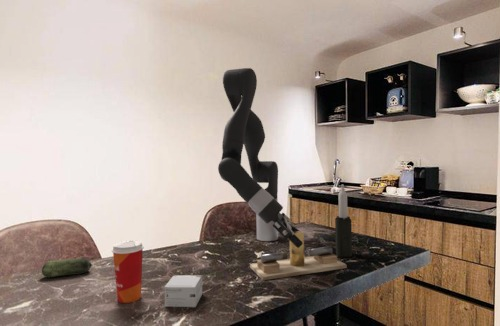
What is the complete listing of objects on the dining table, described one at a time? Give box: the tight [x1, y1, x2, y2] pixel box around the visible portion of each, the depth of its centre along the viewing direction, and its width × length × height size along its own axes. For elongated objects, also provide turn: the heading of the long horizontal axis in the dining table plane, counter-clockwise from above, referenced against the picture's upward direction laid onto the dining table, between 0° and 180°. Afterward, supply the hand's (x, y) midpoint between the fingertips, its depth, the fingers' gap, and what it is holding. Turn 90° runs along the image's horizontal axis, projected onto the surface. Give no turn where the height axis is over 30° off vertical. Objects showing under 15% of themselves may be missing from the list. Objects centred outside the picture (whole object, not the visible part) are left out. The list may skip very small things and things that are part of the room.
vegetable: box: [41, 257, 93, 278], centre depth 102 cm, size 14×5×5 cm, turn 109°
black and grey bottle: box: [334, 184, 353, 258], centre depth 116 cm, size 5×5×25 cm
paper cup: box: [111, 240, 145, 304], centre depth 83 cm, size 8×8×14 cm
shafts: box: [260, 246, 333, 263], centre depth 103 cm, size 2×24×2 cm, turn 108°
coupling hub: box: [289, 230, 306, 267], centre depth 104 cm, size 5×5×10 cm
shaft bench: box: [249, 253, 348, 281], centre depth 104 cm, size 12×28×3 cm, turn 108°
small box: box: [164, 274, 203, 308], centre depth 82 cm, size 8×8×5 cm
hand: (301, 242), depth 103 cm, fingers open, 8 cm apart
